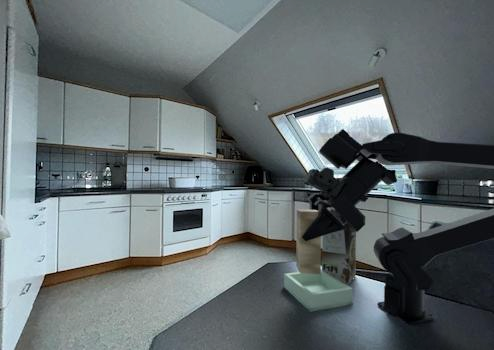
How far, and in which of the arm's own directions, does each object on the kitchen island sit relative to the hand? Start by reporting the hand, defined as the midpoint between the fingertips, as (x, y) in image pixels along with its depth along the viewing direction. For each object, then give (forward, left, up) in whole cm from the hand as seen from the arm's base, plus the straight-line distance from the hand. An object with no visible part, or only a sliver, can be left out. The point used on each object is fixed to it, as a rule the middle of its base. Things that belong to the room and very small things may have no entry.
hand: (301, 236), depth 45 cm
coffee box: (-16, -7, -13) cm, 22 cm away
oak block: (-1, +1, -7) cm, 7 cm away
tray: (-5, -1, -13) cm, 14 cm away
